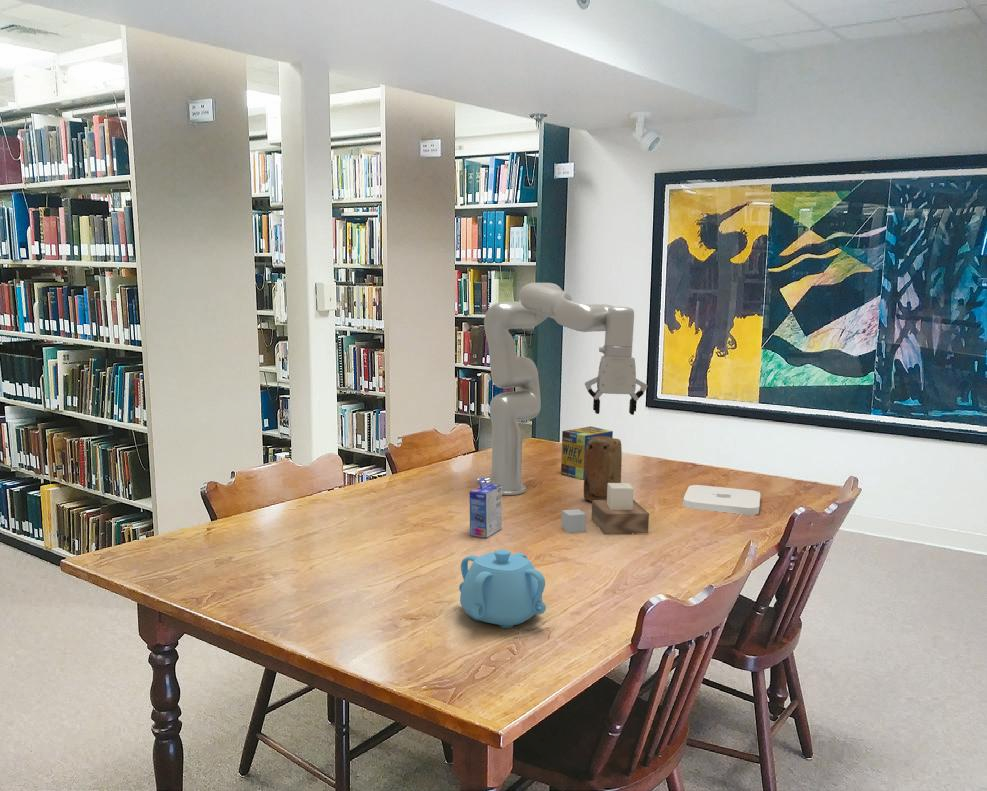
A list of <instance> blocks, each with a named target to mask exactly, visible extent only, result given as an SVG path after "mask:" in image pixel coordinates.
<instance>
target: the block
mask: <svg viewBox="0 0 987 791" xmlns="http://www.w3.org/2000/svg"><path fill="white" fill-rule="evenodd" d="M622 452H623V450H622V441H621V439H619V438H611V437H607V436H605V437H604V436H597V437H594V438H592V439H591V440H590V441H589V442H588V444H587V446H586V450H585V458H584V474H585V478H584V480H583V498H584V500H586V501H589V502H591V503H592V500H607V486H608V483H622V457H623V455H622Z"/></svg>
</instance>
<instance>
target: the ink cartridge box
mask: <svg viewBox="0 0 987 791" xmlns="http://www.w3.org/2000/svg"><path fill="white" fill-rule="evenodd" d="M480 478H481V479H479V480H478V482H479V484H478V485H479V486H478V487H475V488H473V489H472V490H469V534H470V536H473V537H476V538H482V539H483V538H484V539H487V538H489V537H491V536H492V535H494V534H495V533H496V532H498V531H500V530H501V529H502V528H503V524H502V522H503V516H502V514H503V513H502V511H503V508H502V507H503V501H502V500H503V498H502V497H503V495H502V485H496V484H490V483H487V482H486V480H485V478H486V477H484V476H483V477H480ZM482 481H485V483H484V484H481V482H482Z"/></svg>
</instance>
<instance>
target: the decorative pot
mask: <svg viewBox="0 0 987 791" xmlns="http://www.w3.org/2000/svg"><path fill="white" fill-rule="evenodd" d="M469 561H471V565H470V567H469ZM460 572H461V575H462V576H461V577H462V580H463V581H462V582H461V583H460V584H459V587H458V588H459V589H458V590H459V592H460V596H459V602H460V605H461V607H462V609H463V610H464V612H465V613H466V614H467V616H469V617H471V618H472V620H474V621H481V622H483V623H488V624H493V625H499V627H501V628H503V629H510V628H513V627H514V626H517V625H520V624H522V623H525V622H526V621H528V620H530V619H531V618H532V617H533V616H535V615H542V614H544V613H545V612H546V609H547V606H546V604H545V602H544V601H543V593H544V591H545V589H546V588H545V587H546V579H545V576H544V574H542V572H540V571H539V570H538V569H535V567H534V565H533V563H532V561H531V560H530V559H528V556H527V555H526V554H525V553H522V552H516V553H511V551H510V550H508V549H502V548H501V549H496V550H494V552H488V553H485V554H482V555H480V556H478V555H473V554H472V555H468V556H465V557H464V558H463V559H462V560H461V563H460Z"/></svg>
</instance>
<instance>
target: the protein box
mask: <svg viewBox="0 0 987 791" xmlns="http://www.w3.org/2000/svg"><path fill="white" fill-rule="evenodd" d="M613 434H614V431H613V430H609V429H605V428H600V427H595V426H592V425H591V426H586V427H584V426H583V427H579V428H573V429H568V430H562V437H561V439H562V440H561V459H560V461H561V463H560V464H561V466H560V467H561V468H560V475H562V474H563V475H562V476H566V475H567V477H570V476H571V477H570V478H574V477H575V478H574V479H578V478H579V479H578V480H581V479H582V481H584V480H583V479H584V478H585V474H584V458H585V450H586V446H587V444H588V442H589V441H590V440H591V439H592V438H594V437H597V436H604V437H605V436H607V437H611V438H613Z"/></svg>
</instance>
